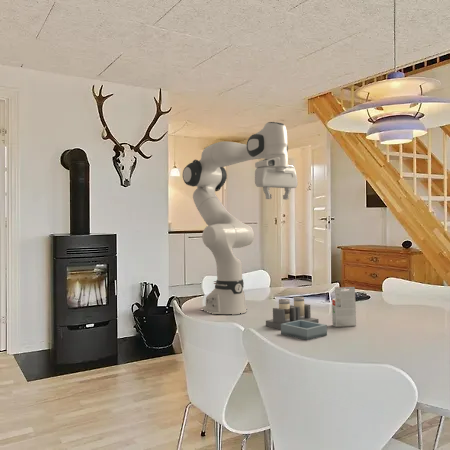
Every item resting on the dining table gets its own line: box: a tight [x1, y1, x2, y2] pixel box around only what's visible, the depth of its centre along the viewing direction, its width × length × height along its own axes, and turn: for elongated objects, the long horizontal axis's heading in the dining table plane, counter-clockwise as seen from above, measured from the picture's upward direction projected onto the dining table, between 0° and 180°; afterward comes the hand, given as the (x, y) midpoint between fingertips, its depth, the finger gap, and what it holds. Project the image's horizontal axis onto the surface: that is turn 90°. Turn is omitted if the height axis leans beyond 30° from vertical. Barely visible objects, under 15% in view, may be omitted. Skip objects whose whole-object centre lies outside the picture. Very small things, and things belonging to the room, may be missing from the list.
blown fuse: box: [278, 298, 291, 323], centre depth 171 cm, size 4×4×8 cm
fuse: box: [293, 296, 305, 319], centre depth 176 cm, size 4×4×8 cm
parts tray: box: [280, 320, 328, 341], centre depth 159 cm, size 12×10×4 cm
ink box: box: [331, 286, 357, 328], centre depth 171 cm, size 4×8×15 cm, turn 96°
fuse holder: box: [265, 303, 319, 330], centre depth 174 cm, size 12×16×7 cm
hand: (277, 199), depth 179 cm, fingers open, 8 cm apart
